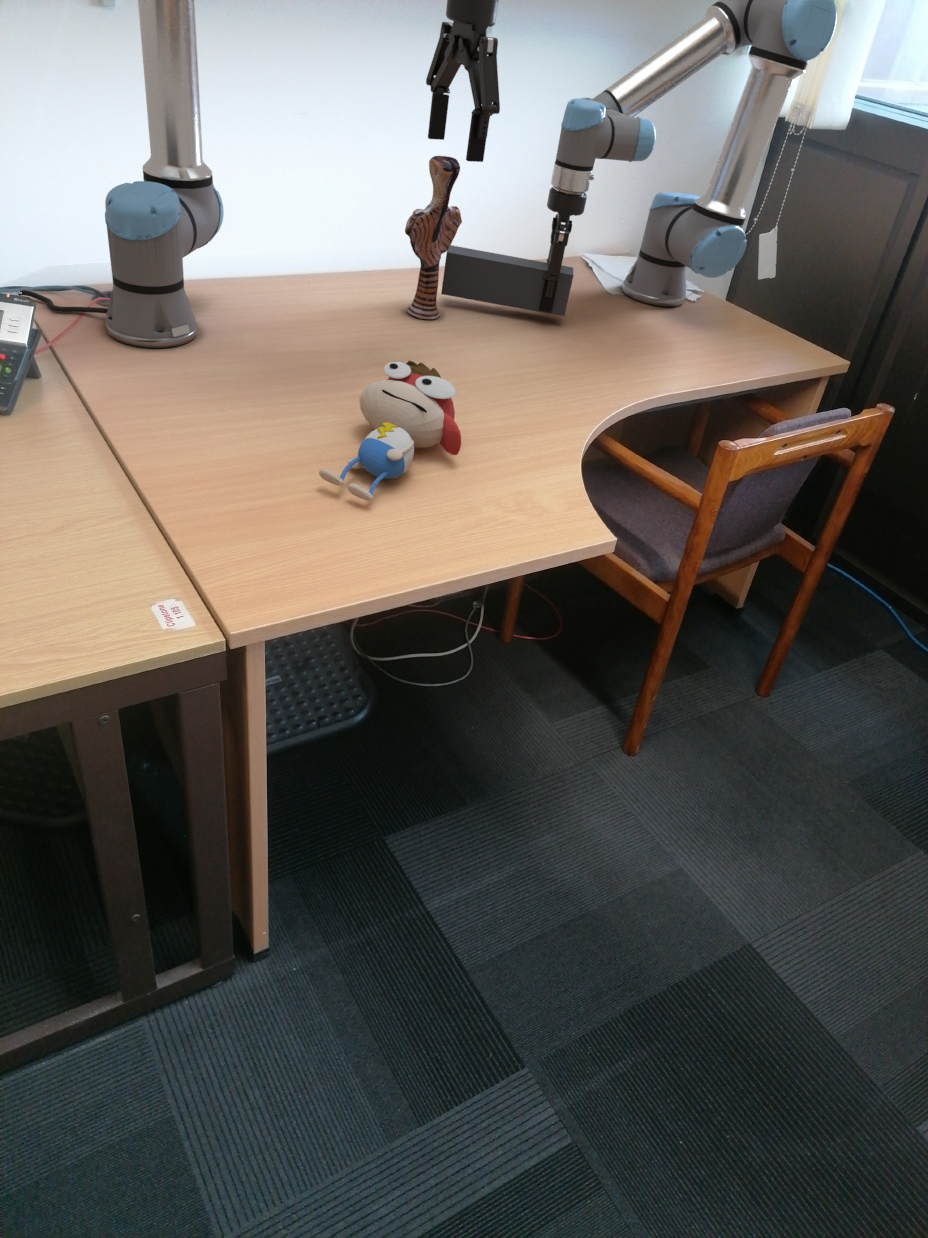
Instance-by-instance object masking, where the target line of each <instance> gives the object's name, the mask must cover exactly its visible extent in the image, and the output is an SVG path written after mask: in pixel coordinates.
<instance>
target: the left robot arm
mask: <svg viewBox="0 0 928 1238" xmlns="http://www.w3.org/2000/svg"><path fill="white" fill-rule="evenodd" d="M137 5H138V7H137V8H138V17H139V18H138V19H139V28H140V29H139V31H140V41H141V53H142V54H141V55H142V64H143V65H142V66H143V76H144V77H143V78H144V91H145V100H146V113H147V125H148V127H147V128H148V139H149V150H150V157H149V159H147V160H146V162H145V163H144V164H143V165H142V175H143V176H142V178H143V180H136V181H133V182H132V183H131V182H124V183H120V184H118V185H116V186H114V187H113V188H111V189H110V190H109V191H108V192H107V194H106V196H105V201H104V202H105V203H104V204H105V205H104V206H105V211H104V221H105V224H106V233H107V241H108V250H109V259H110V268H111V277H112V291H111V295H110V300H109V303H108V307H94V306H93V307H91V306H60V305H55V304H54V301H52V299H51V298H49V297H46V296H44V295H43V294H40V293H37V292H35V291H31V290H29V289H28V290H27V289H21V290H22V291H20V292H22V294H19V296H28V297H31V298H34V299H35V300H38V301H41V302H43V303H45V304H47V307H48V308H49V310H52V311H55V312H58V313H59V312H61V313H91V314H92V313H95V314H106V315H105V326H106V328H105V329H106V332H107V334H108V335H109V336H110V337H111V338H112V339H114V340H116V341H117V342H120V343H123V344H126V345H130V346H133V347H140V348H152V349H157V348H160V349H163V348H171V347H177V346H182V345H184V344H187V343H189V342H191V341H193V340H194V339H195V338H196V337H197V335H198V324H197V320H196V317H195V315H194V311H193V309H192V306H191V304H190V300H189V298H188V296H187V293H186V290H185V278H184V260H183V259H184V258H185V257H187V256H189V255H190V254H192V253H193V252H195V251H196V250H197V249H200V248H203V247H205V246H206V245H208V244H209V242H211V241H212V240H213V239H214V238H215V236H216V235H217V234H218V233H219V231H220V230H221V227H222V224H223V221H224V215H225V214H224V213H225V212H224V211H225V210H224V203H223V200H222V197H221V194H220V193H219V190H217V189H216V188H215V185H214V179H213V171H212V169H211V168H210V167H209V166H208V165H207V164H206V163H205V161H204V157H203V155H204V154H203V138H202V137H203V136H202V114H201V97H200V77H199V76H200V75H199V56H198V55H199V54H198V40H197V38H198V37H197V36H198V35H197V17H196V0H137ZM498 6H499V0H446V8H445V9H446V10H445V17H446V18H447V19H448V20H449V21H452V22H449V21H442V22H441V25H440V32H439V38H438V41H437V44H436V47H435V51H434V53H433V57H432V60H431V63H430V67H429V70H428V73H427V76H426V79H425V84H426V86H429V87H430V92H431V93H432V94H431V103H430V112H429V113H430V114H429V122H428V133H427V139H429V140H440V141H442V140H444V141H445V136H446V129H447V128H446V126H447V119H448V112H449V111H448V108H449V101H450V95H449V94H451V90H450V87H451V84H452V82H453V80H454V79H455V77H456V75H457V73H458V71H459V70H460V69H461V66H463V67H464V70H465V71H467V74H468V79H469V84H470V89H471V95H472V101H473V105H474V108H473V110H472V111H471V117H470V125H469V126H470V127H469V134H468V141H467V149H466V155H465V161H467V162H475V163H476V162H477V163H483V162H484V158H485V152H486V151H485V150H486V144H487V138H488V132H489V125H490V119H491V116H493V115H498V114H500V111H501V102H500V88H499V72H498V71H499V70H498V57H497V56H498V45H499V39H498V38H497V37H492V36H488V35H487V31H488V28H489V27H493V26H495V25H496V22H497V16H498V15H497V14H498V8H499V7H498Z"/></svg>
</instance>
